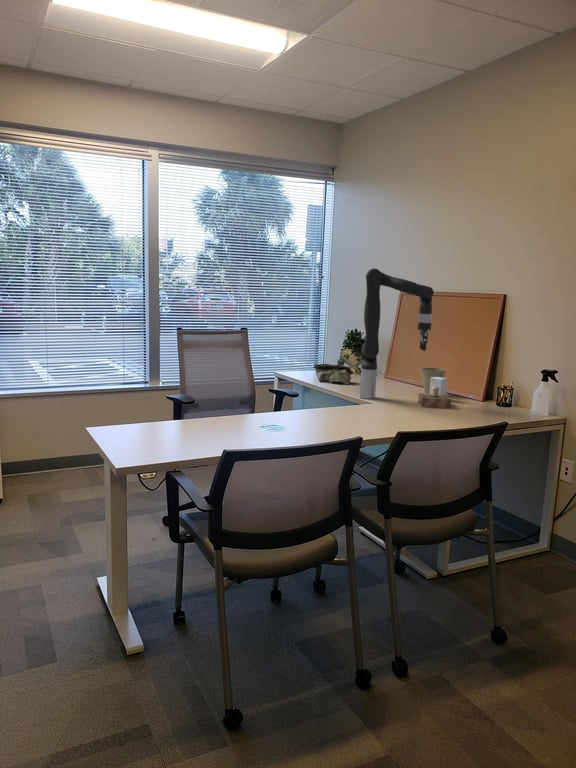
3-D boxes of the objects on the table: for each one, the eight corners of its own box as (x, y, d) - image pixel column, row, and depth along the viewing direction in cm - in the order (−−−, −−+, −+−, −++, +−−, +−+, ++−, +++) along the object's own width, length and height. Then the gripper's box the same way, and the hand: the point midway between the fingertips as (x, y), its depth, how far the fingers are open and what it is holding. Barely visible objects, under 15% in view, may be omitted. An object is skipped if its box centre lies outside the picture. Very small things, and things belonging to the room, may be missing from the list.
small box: (446, 400, 344) (448, 378, 341) (439, 401, 340) (441, 379, 337) (435, 397, 350) (436, 376, 348) (428, 398, 346) (430, 377, 344)
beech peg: (431, 405, 326) (432, 388, 324) (429, 404, 330) (431, 386, 328) (438, 405, 325) (439, 388, 324) (437, 404, 329) (438, 387, 328)
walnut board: (421, 406, 321) (422, 398, 320) (418, 401, 335) (418, 393, 334) (450, 408, 320) (451, 399, 319) (446, 403, 334) (446, 394, 333)
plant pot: (427, 391, 372) (429, 366, 369) (447, 394, 362) (449, 369, 359) (414, 393, 361) (416, 368, 359) (435, 397, 351) (437, 371, 348)
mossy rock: (312, 387, 399) (307, 373, 388) (317, 372, 406) (312, 359, 394) (351, 390, 388) (347, 376, 376) (355, 375, 394) (351, 361, 383)
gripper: (416, 320, 338) (414, 348, 341) (419, 322, 324) (417, 350, 327) (429, 321, 338) (427, 348, 340) (433, 322, 324) (431, 351, 326)
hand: (422, 349), depth 334 cm, fingers open, 8 cm apart
